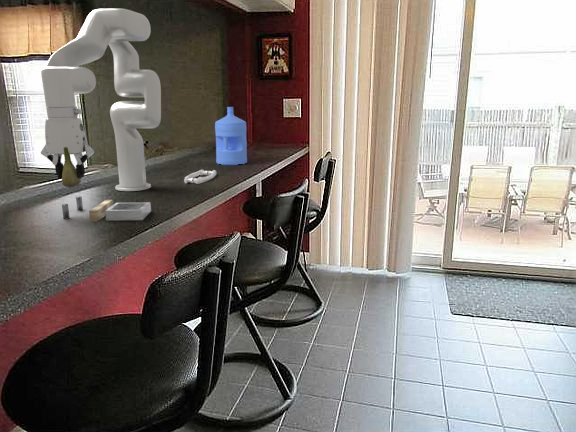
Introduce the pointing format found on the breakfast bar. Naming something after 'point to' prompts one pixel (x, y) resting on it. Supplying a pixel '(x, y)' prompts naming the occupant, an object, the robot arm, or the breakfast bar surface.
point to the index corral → (128, 211)
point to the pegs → (66, 209)
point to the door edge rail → (99, 210)
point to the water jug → (231, 140)
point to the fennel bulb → (69, 171)
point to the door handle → (200, 179)
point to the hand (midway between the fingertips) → (71, 176)
